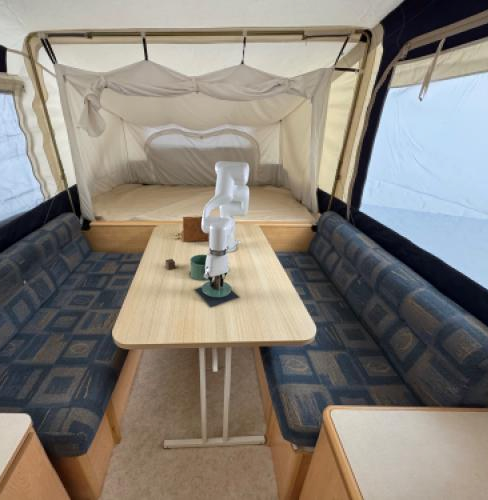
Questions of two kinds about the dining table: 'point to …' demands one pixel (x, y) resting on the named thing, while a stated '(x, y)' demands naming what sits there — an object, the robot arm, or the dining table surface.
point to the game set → (193, 229)
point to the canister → (198, 267)
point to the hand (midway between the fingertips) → (216, 286)
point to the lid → (216, 288)
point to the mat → (216, 300)
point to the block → (170, 264)
